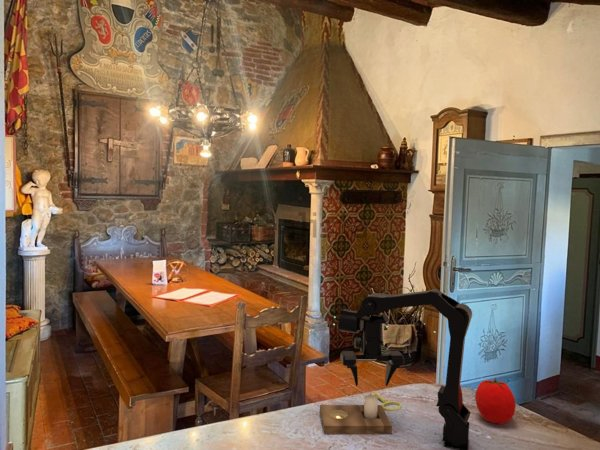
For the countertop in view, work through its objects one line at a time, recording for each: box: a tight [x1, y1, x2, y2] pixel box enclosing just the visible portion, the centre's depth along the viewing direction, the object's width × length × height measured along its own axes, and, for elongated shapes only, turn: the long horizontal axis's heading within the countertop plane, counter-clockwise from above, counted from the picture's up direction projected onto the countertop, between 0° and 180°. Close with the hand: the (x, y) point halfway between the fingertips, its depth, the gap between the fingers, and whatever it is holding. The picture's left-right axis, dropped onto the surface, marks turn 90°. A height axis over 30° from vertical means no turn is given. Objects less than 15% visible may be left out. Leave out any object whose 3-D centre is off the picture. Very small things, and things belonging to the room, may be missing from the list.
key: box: [369, 391, 403, 412], centre depth 160 cm, size 7×12×2 cm, turn 45°
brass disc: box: [329, 410, 348, 419], centre depth 145 cm, size 6×6×1 cm
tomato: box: [474, 377, 517, 425], centre depth 149 cm, size 12×12×13 cm
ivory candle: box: [363, 394, 379, 419], centre depth 146 cm, size 4×4×8 cm
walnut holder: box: [319, 404, 393, 435], centre depth 146 cm, size 20×14×2 cm
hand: (371, 385), depth 145 cm, fingers open, 9 cm apart
